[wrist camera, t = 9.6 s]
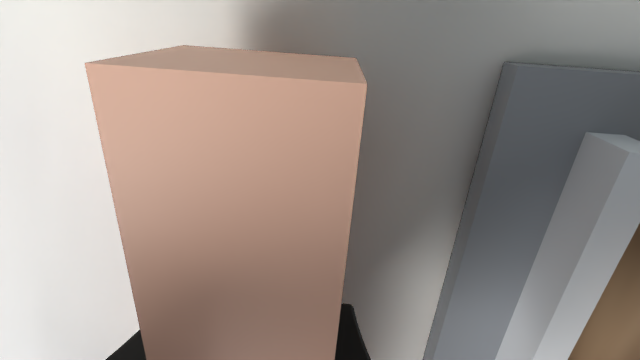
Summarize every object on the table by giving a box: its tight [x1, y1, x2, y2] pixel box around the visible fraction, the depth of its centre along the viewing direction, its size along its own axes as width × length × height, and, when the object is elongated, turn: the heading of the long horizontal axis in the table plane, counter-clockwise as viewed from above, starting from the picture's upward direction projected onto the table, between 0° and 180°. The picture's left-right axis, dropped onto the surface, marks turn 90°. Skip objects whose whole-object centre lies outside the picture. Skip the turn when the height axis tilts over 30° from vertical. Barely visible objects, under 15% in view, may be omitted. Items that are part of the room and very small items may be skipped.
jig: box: [423, 62, 640, 360], centre depth 12 cm, size 18×12×2 cm, turn 176°
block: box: [85, 45, 367, 360], centre depth 10 cm, size 16×4×4 cm, turn 176°
